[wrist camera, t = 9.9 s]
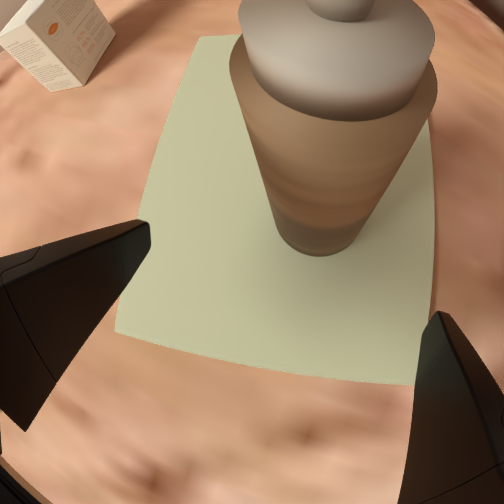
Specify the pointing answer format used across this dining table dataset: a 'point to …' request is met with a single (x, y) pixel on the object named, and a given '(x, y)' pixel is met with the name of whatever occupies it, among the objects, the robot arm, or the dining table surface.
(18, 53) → the small box
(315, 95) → the pepper mill
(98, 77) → the dining table surface
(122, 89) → the dining table surface
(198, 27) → the dining table surface
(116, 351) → the dining table surface
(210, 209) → the placemat
